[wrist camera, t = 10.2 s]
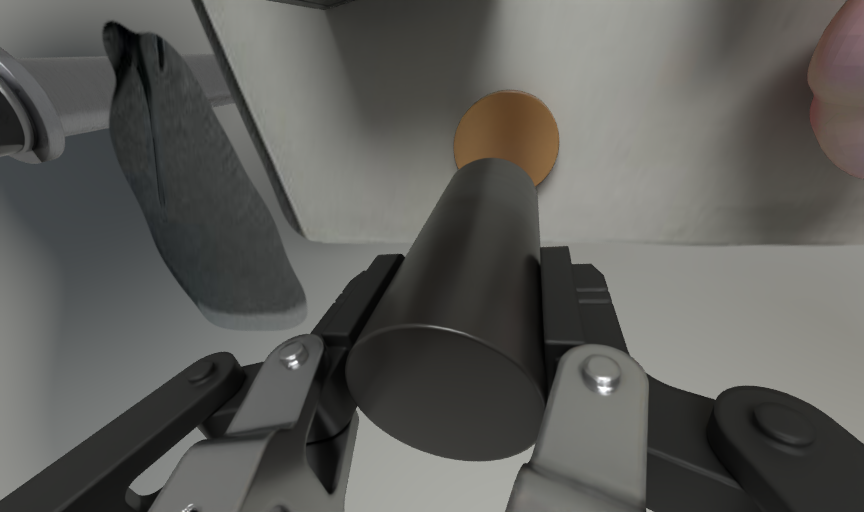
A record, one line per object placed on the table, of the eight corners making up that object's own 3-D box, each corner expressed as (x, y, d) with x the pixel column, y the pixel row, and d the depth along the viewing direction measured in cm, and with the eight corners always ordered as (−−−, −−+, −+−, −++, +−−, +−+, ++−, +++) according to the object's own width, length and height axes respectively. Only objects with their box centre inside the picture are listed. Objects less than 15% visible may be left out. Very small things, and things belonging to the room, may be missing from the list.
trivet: (463, 196, 26) (461, 201, 25) (448, 100, 23) (445, 102, 22) (558, 187, 24) (559, 192, 23) (557, 79, 21) (558, 80, 20)
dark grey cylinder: (453, 244, 16) (375, 448, 8) (438, 163, 14) (314, 323, 6) (539, 240, 15) (551, 475, 7) (535, 150, 13) (545, 328, 5)
